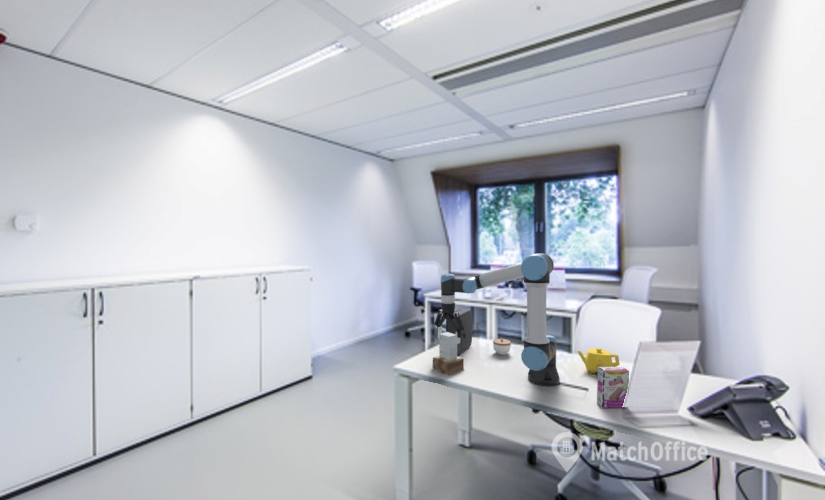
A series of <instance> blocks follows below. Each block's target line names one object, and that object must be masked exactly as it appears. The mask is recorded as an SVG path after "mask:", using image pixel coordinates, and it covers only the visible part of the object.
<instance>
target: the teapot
mask: <svg viewBox="0 0 825 500" xmlns="http://www.w3.org/2000/svg"><path fill="white" fill-rule="evenodd" d="M577 352H578V355H579V357H580V358H581V360H582V362H583V364H584V366H585V368H586V370H587V371H589V374H591V373H595V374H596V373H598V367H619V366H620V359H619V355H618V354H615V353H611V352H610V351H609V350H604V349H603V348H600V347H596V348H588V349H587V352H586V355H584V353H583V352H582V350H577ZM612 358H615V360H614V361H613V359H612Z"/></svg>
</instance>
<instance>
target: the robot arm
mask: <svg viewBox="0 0 825 500" xmlns="http://www.w3.org/2000/svg"><path fill="white" fill-rule="evenodd" d="M554 266H555V264H554V260H553V258H552V257H551V256H550V255H548V254H546V253H541V252H540V253H534V254H533V253H532V254H528V255H527V256H526V257H525V258H524V259H523V260H522V262H519V263H516V264H513V265H509V266H507V267H506V266H505V267H502V268H499V269H495V270H491V271H489V272H488V271H487V272H484V273H480V274H477V275H474V276H470V277H466V278H456V277H455V275H454V274H453V273H447V274H446V273H445V274H441V276H440V290H441V292H440V293H441V294H440V298H441V299H440V301H441V304H440V305H441V309H438V310H437V315H436V318H435V321H434V323H433V324H434V326H436V332H437V339H438V340H439V334H441V333H443V326H442V325H443V323H444V322H446V319H448V320H450V321H451V322H452V323H453V325H454V327H455V329H456V344H459V343H460V337H461V331H464V328H463V325H462V322H461V320H460V317H459V313H455V312H454V311H456V303H455V302H456V294H455V293H460V294H462V293H463V294H475V292H476V291H477V290H480V289H483V288H488V287H491V286H495V285H499V284H504V283H507V282H510V281H514V280H519V279H523V283H524V284H525V286H526V327H527V328H526V336H525V337H524V338H523V349H522V350H521V351H522V352H521V355H520V356H521V358H520V359H521V361H522V363H523V365H524V366H525V367H526V368H527V369H528V372H527V380H528V381H530V382H531V383H533V384H536V385H539V386H548V387H552V386H554V387H555V386H558V385H559V384H560V381H561V380H560V379H561V377H560V375H559V372H558V369H557V344H558V343H557V338H556V337H555V336H554V335H550V334H547V286H548V285H549V284H550V278H551V277H550V276H551V275H550V274H551V273H552V272H553V270H554Z"/></svg>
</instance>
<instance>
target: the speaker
mask: <svg viewBox="0 0 825 500" xmlns="http://www.w3.org/2000/svg"><path fill="white" fill-rule="evenodd" d="M454 312H455V313H459V317H460V320H461V322H462V325H463V328H464V331H461V337H460V343H459V344H457V356H460V355H462V354H463V353H465V352H466V351H468V350H469V349H470V348H471V345H472V344H473V343H472V341H473V313H472V311H471V310H469V309H468V310H466V309H465V310H463V309H457V310H456V309H455V310H454ZM445 332H449V333H452V334H456V329H455V327H454V325H453V323H452V322H451V321H450V320H448V319H445Z"/></svg>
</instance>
